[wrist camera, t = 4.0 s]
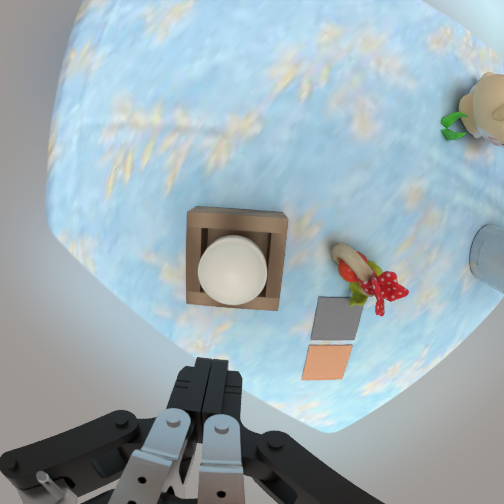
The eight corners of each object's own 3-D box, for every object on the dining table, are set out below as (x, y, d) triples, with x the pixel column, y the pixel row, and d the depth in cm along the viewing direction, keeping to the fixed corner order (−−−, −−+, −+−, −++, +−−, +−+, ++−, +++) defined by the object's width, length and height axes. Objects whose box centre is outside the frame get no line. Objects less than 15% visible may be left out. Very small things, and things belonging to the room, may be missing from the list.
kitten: (455, 168, 30) (533, 175, 16) (423, 104, 28) (499, 82, 13) (500, 130, 28) (565, 129, 13) (474, 75, 26) (537, 57, 11)
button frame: (283, 212, 32) (288, 219, 27) (274, 292, 35) (277, 310, 30) (196, 206, 32) (187, 212, 27) (194, 286, 35) (186, 303, 30)
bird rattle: (314, 266, 36) (359, 317, 34) (307, 268, 26) (369, 339, 24) (349, 234, 35) (393, 284, 33) (355, 222, 24) (418, 293, 22)
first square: (364, 298, 35) (365, 299, 35) (353, 338, 37) (354, 340, 37) (318, 296, 35) (319, 297, 35) (310, 338, 37) (310, 340, 36)
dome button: (267, 231, 30) (272, 250, 23) (262, 288, 31) (264, 320, 24) (207, 227, 29) (193, 244, 22) (205, 283, 31) (192, 314, 24)
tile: (352, 344, 37) (352, 345, 37) (341, 378, 39) (342, 379, 39) (309, 344, 37) (309, 346, 37) (301, 379, 39) (301, 380, 38)
